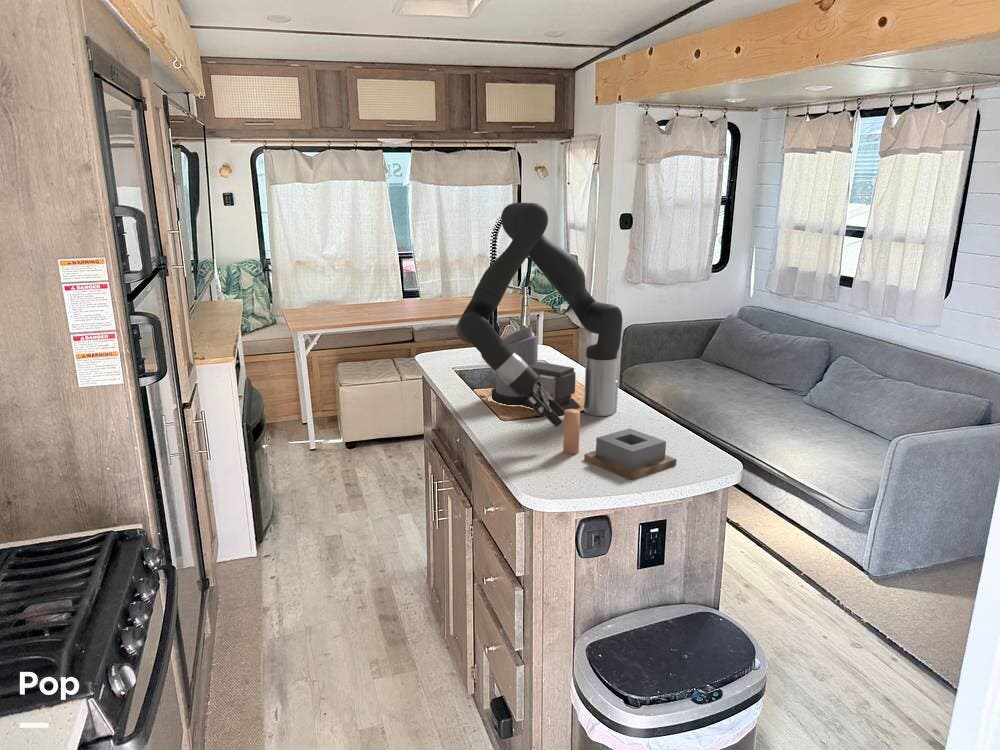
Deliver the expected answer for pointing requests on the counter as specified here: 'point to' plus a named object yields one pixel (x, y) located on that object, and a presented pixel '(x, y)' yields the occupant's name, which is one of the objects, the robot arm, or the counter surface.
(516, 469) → the counter surface
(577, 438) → the peg
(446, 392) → the counter surface
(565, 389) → the juicer
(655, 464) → the socket board
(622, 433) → the socket
